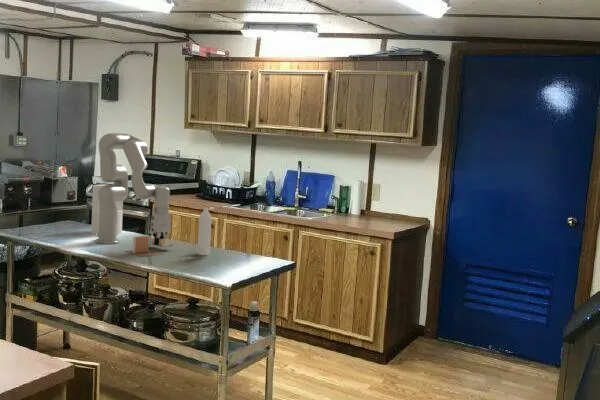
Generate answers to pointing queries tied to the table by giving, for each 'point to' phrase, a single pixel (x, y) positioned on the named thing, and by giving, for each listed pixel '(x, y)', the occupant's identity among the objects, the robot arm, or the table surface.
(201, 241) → the water bottle
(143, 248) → the tile
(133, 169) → the robot arm
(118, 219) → the cylinder
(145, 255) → the board
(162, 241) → the turner
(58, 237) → the table surface
